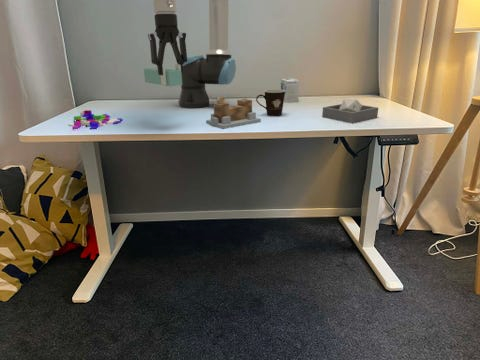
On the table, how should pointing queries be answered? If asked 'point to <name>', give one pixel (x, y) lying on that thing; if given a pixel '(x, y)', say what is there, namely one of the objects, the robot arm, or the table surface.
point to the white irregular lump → (350, 105)
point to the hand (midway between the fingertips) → (171, 83)
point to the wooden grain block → (232, 109)
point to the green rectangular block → (171, 76)
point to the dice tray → (350, 114)
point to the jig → (228, 123)
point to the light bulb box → (290, 89)
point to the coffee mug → (273, 102)
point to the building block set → (88, 119)
